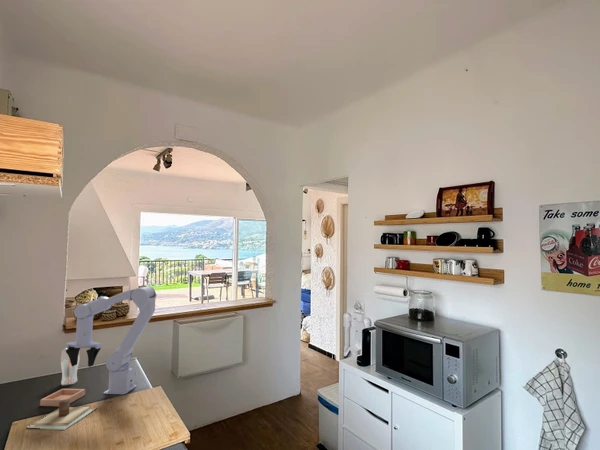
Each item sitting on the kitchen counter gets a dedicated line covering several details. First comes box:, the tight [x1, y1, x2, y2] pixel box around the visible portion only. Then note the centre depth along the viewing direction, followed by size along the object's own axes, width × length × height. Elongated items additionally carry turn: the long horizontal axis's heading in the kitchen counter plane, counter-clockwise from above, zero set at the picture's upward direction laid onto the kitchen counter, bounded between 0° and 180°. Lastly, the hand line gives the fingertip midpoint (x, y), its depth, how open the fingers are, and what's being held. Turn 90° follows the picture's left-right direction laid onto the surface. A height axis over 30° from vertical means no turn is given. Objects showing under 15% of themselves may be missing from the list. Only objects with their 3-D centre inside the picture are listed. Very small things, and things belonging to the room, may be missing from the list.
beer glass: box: [60, 347, 81, 386], centre depth 142 cm, size 7×7×15 cm
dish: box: [39, 388, 86, 407], centre depth 124 cm, size 10×10×2 cm
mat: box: [26, 409, 94, 431], centre depth 110 cm, size 14×14×1 cm
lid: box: [35, 399, 91, 426], centre depth 110 cm, size 11×11×5 cm
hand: (82, 365), depth 133 cm, fingers open, 7 cm apart
